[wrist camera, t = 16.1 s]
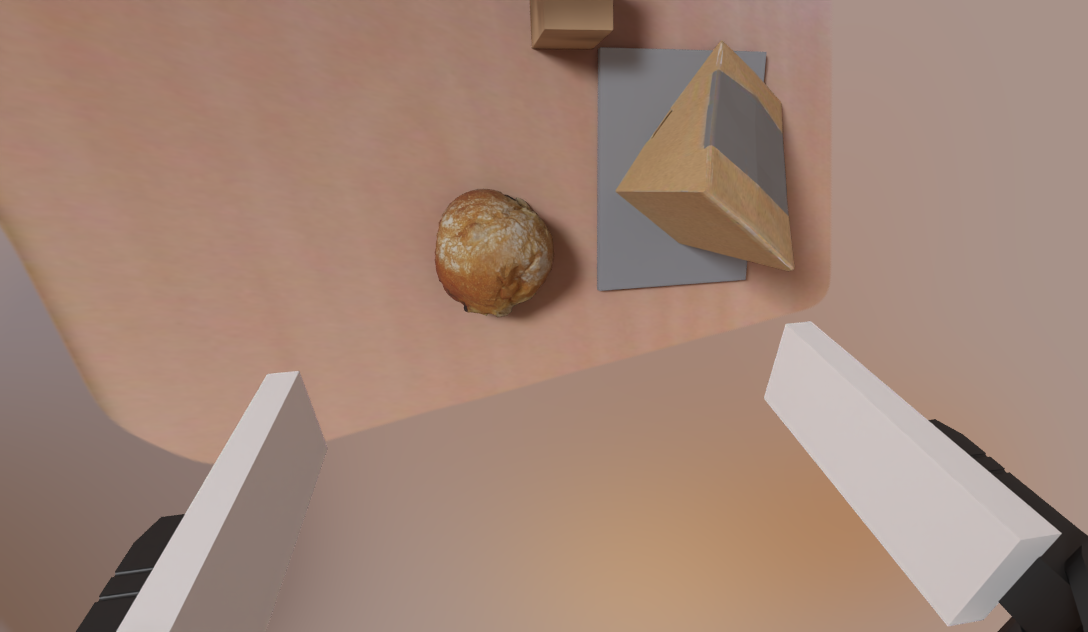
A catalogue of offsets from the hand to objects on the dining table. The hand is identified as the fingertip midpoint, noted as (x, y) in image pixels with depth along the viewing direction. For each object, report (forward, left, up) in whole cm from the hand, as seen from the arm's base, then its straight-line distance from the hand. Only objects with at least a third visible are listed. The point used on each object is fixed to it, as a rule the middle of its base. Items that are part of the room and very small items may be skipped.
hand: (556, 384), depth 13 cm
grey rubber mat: (-6, +18, -29) cm, 35 cm away
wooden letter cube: (-18, +8, -29) cm, 35 cm away
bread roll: (0, +1, -29) cm, 29 cm away
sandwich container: (-8, +20, -29) cm, 36 cm away
